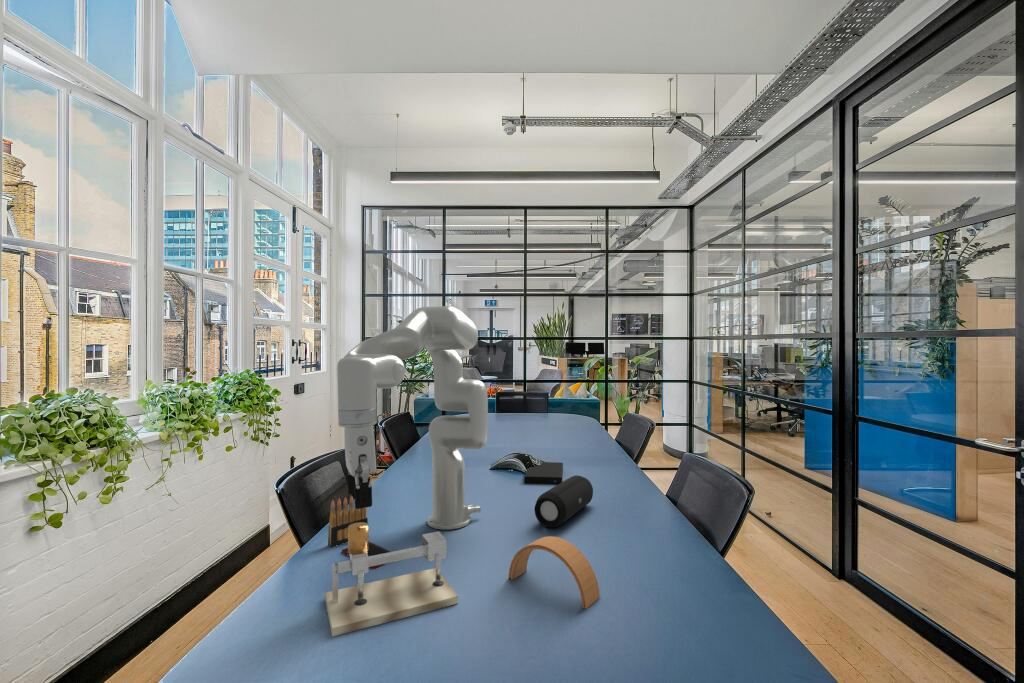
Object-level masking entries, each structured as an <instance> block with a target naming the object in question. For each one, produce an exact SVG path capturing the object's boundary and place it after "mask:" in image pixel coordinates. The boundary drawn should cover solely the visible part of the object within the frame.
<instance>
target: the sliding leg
mask: <svg viewBox="0 0 1024 683" xmlns="http://www.w3.org/2000/svg"><path fill="white" fill-rule="evenodd" d="M369 542H370V541H369V523H368V524H367V523H364V522H359V523H354V524H351V525H349V526H348V543H347V548H348V553H349V556H350V557H349V556H348V557H349V559H350V560H351V562H352V571H351V572H352V573H351V574H352V576H357V585H358V599H359V600H362V599H363V598H364V584H365V574H367V573H369V568H368V553H367V551H368V550H369Z"/></svg>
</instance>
